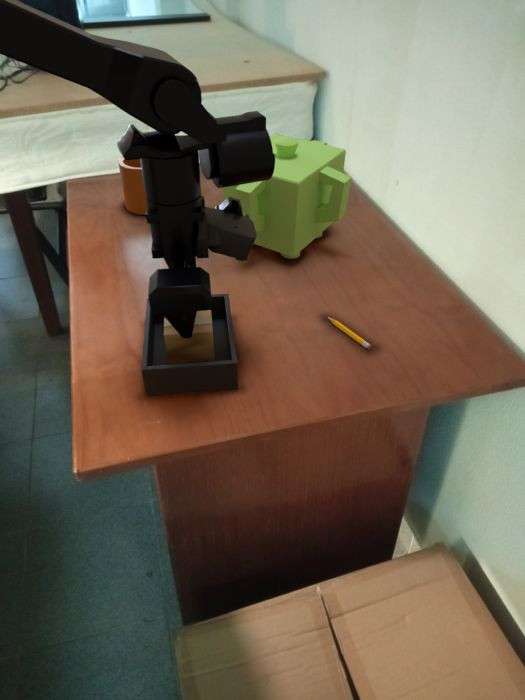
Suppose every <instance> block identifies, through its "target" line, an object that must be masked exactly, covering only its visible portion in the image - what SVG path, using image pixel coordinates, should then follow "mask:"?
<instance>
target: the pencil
mask: <svg viewBox="0 0 525 700" xmlns="http://www.w3.org/2000/svg"><path fill="white" fill-rule="evenodd" d="M327 319H328V320H329V321H330V322H331V323H332V325H334V326H335V327H336V328H337V329H339V330H340V331H342V332H343V333H345V335H347V336H348V337H350V338H351V339H352V340H354V342H357V343H358V344H359V345H360V346H362V347H363V348H365V349H366V350H367V351H370V350H372V348H373V346H372V344H370V343H369V342H367V341H366V340H364V339H363V338H362V337H360V336H359V335H358V334H357V333H355V332H354V331H353V330H351V329H350V328H348V327H347V326H346V325H344V324H342V323H341V322H340V321H338V320H337V319H334V318H332V317H329V316H327Z"/></svg>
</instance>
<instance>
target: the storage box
mask: <svg viewBox="0 0 525 700" xmlns="http://www.w3.org/2000/svg"><path fill="white" fill-rule="evenodd" d="M269 136H270V139H271V143H272V148H273V153H274V154H275V168H274V173H273V175H272V177H271V178H270V179H269V180H265V181H259V182H254V183H248V184H242V185H236V186H230V187H224V188H222V203H223V202H224V201H225V200H226V199H227V198H228V197H232V198H236V199H239V200H240V202H241V206H242V213H243V216H245V215H246V214H247V215H249V218H250V219H251V220H252V221H253V222H254V226H255V230H256V234H257V237H256V239H255V242H254V244H253V245H256V246H259V247H262V248H264V249H269V250H271V251H274V252H277V253H280V255H281V256H282V257H283V258H285V259H290V260H292V259H293V260H294V259H297V258H299V257H300V256H301V251H302V250H304V249H305V248H306V247H308V245H309V244H311V242H313V241H314V240H315V239H319V238H321V237H322V236H323V232H324V231H325V230H326V229H327V228H329V227H330V226H331V225H332V224H333V223H334V222H339V221H340V220H341V219H342V218H344V217H345V216H346V213H347V207H348V201H349V195H350V190H351V183H352V178H353V177H352V176H351V175H348V174H346V173H344V170H345V161H346V155H347V151H346V148H341V147H336V146H333V145H328V142H324V141H321V140H315V139H314V140H306V139H303V138H298V137H294V136H290V135H284V134H280V133H276V132H275V133H273V134H271V135H269Z"/></svg>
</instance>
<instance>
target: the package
mask: <svg viewBox="0 0 525 700" xmlns="http://www.w3.org/2000/svg"><path fill="white" fill-rule="evenodd" d="M164 339H165V346H166V352H167V359H168V364H180V363H194V362H207V361H215V357H214V342H213V328H212V315H211V310H207V311H197V314H196V318H195V323H194V328H193V333H192V337H191V338H182V337H181V336H180V334H179V333H178V332H177V331H176V330H175V329H174V327H173V326H172V325H171V324H170V323H169V322H168V320H167V319H166V318H165V317H164Z"/></svg>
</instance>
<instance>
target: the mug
mask: <svg viewBox="0 0 525 700" xmlns="http://www.w3.org/2000/svg"><path fill="white" fill-rule="evenodd" d="M117 164H118V169H119V175H120V180H121V185H122V193H123V197H124V203H125V208H126V210H127V211H128V212H130V213H132V214H135V215H142V216H143V215H145V216H146V209H147V202H146V195H145V189H144V182H143V175H142V168H141V162H140V159H136V160H129V161H127V160H125V159H124V157H123V156H121V157H120V158H119V159H118V160H117Z"/></svg>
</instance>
